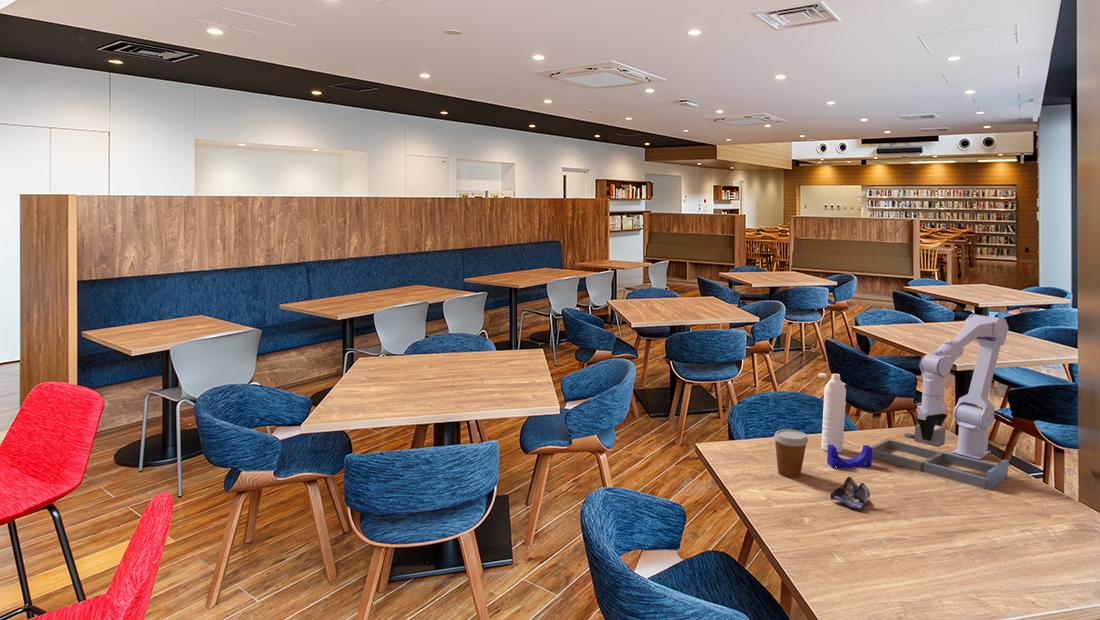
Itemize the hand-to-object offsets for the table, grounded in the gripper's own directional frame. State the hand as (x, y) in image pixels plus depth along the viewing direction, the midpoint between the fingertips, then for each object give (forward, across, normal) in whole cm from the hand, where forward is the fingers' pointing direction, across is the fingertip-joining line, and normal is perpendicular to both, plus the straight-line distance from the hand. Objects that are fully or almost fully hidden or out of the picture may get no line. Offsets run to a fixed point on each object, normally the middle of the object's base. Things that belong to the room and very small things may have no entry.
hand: (930, 438), depth 202 cm
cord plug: (+1, 0, -2) cm, 2 cm away
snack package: (+9, +43, -1) cm, 44 cm away
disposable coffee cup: (+8, +38, -23) cm, 46 cm away
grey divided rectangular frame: (+8, 0, +2) cm, 9 cm away
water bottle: (+8, +10, -26) cm, 29 cm away
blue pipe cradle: (+9, +19, -15) cm, 25 cm away
